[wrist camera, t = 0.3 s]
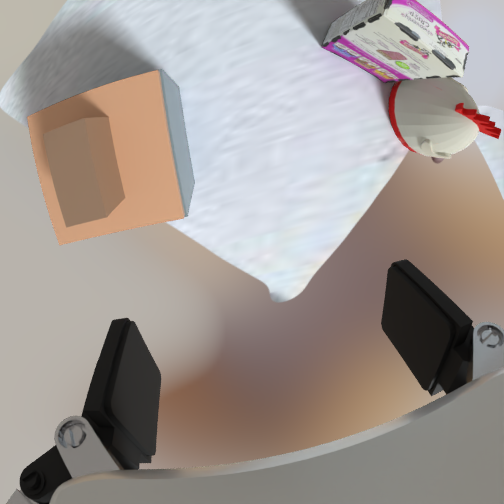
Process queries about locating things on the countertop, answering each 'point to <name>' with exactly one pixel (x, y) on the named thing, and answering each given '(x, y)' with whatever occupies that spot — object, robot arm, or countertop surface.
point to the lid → (107, 159)
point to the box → (178, 139)
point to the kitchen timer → (436, 116)
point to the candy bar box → (397, 41)
